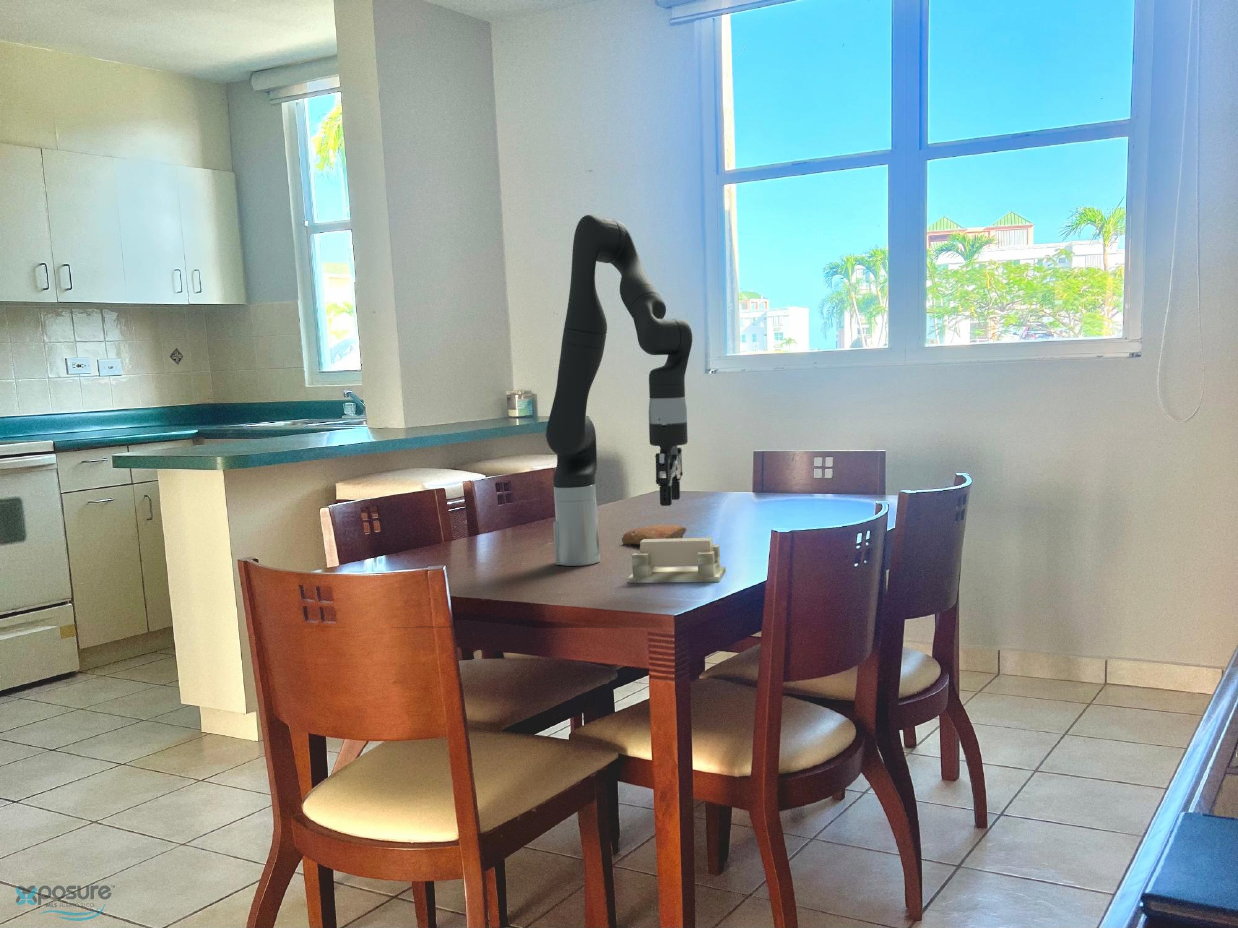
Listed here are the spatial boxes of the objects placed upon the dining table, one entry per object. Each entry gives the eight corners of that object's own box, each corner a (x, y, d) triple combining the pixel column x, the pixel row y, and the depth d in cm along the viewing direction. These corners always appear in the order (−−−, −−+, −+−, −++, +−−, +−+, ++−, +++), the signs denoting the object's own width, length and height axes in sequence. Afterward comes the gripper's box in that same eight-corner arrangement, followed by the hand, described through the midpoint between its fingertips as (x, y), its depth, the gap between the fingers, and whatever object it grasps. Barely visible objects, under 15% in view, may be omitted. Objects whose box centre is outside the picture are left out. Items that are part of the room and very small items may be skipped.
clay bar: (641, 566, 205) (640, 542, 204) (645, 563, 208) (643, 539, 208) (711, 565, 202) (709, 540, 201) (713, 562, 205) (712, 537, 205)
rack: (628, 582, 202) (626, 555, 202) (638, 572, 212) (637, 546, 212) (719, 581, 198) (717, 553, 198) (725, 571, 208) (724, 544, 207)
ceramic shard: (705, 521, 244) (655, 539, 236) (707, 546, 245) (658, 565, 237) (666, 508, 255) (618, 525, 247) (669, 533, 257) (621, 550, 249)
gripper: (656, 419, 210) (659, 497, 211) (641, 423, 196) (643, 507, 197) (693, 418, 208) (695, 497, 209) (679, 422, 194) (682, 507, 196)
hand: (670, 502), depth 203 cm, fingers open, 8 cm apart
